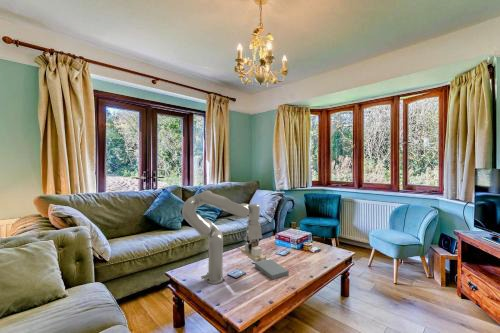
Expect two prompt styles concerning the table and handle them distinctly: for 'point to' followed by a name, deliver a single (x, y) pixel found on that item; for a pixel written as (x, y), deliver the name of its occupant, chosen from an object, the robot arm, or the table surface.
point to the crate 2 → (256, 251)
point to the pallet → (255, 259)
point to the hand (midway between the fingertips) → (253, 248)
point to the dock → (272, 269)
